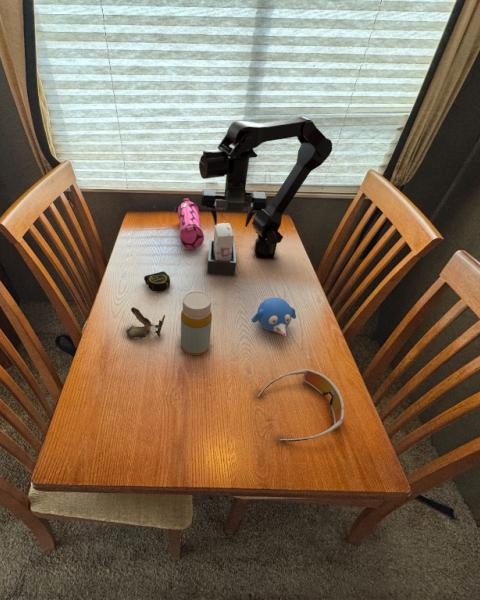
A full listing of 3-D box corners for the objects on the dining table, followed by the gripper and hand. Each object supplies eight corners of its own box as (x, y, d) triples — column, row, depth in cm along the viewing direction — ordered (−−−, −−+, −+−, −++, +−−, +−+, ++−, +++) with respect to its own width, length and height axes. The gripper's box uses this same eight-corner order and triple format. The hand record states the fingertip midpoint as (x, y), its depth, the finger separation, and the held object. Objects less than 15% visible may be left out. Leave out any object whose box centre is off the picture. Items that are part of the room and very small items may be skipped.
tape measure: (165, 278, 99) (165, 268, 97) (173, 291, 95) (173, 281, 92) (144, 283, 97) (143, 273, 95) (151, 297, 92) (150, 287, 90)
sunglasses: (353, 429, 63) (359, 417, 60) (284, 455, 61) (286, 445, 58) (313, 372, 74) (317, 359, 70) (253, 393, 72) (253, 381, 68)
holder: (233, 253, 110) (235, 241, 107) (234, 275, 101) (236, 262, 98) (208, 252, 111) (209, 239, 107) (207, 274, 101) (208, 261, 98)
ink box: (212, 254, 109) (214, 222, 101) (226, 253, 109) (230, 222, 101) (215, 268, 102) (217, 236, 94) (230, 268, 102) (234, 235, 95)
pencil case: (174, 222, 127) (173, 197, 120) (198, 221, 128) (199, 197, 121) (178, 251, 111) (178, 225, 104) (206, 250, 112) (207, 224, 105)
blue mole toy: (258, 350, 78) (264, 326, 73) (244, 317, 87) (249, 293, 81) (304, 345, 80) (314, 321, 74) (286, 312, 89) (293, 289, 83)
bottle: (212, 339, 81) (217, 293, 71) (204, 359, 76) (207, 314, 66) (186, 332, 82) (187, 286, 73) (176, 352, 77) (176, 306, 68)
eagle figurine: (165, 318, 84) (132, 309, 84) (165, 312, 78) (129, 302, 77) (157, 346, 82) (123, 337, 82) (157, 343, 76) (120, 333, 75)
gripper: (201, 183, 83) (199, 236, 93) (274, 187, 82) (263, 240, 92) (203, 168, 91) (201, 219, 101) (269, 172, 90) (260, 222, 101)
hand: (230, 225), depth 99 cm, fingers open, 9 cm apart
